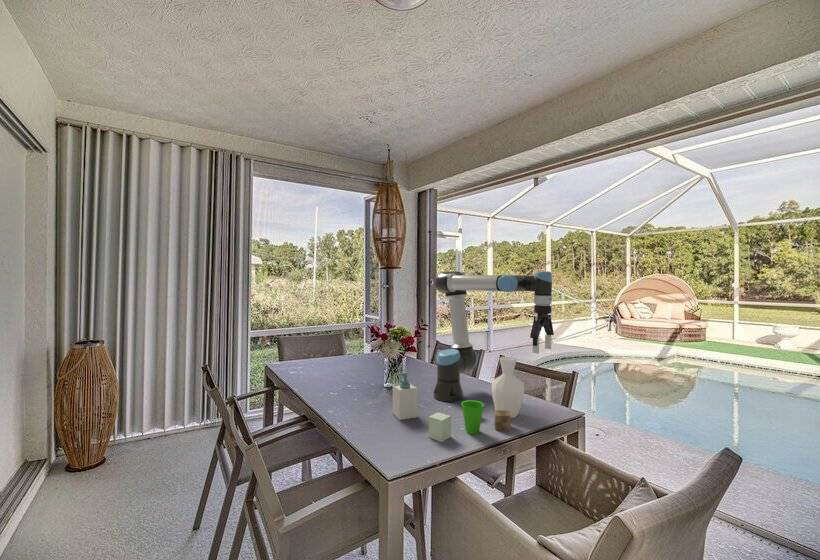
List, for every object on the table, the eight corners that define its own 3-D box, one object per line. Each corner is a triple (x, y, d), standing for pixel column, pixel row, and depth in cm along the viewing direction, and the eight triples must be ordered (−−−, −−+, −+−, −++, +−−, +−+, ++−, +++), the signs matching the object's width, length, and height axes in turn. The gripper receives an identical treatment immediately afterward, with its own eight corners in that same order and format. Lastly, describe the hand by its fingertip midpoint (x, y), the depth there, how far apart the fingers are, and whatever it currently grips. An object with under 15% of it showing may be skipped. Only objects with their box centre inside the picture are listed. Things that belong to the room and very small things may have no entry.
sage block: (428, 437, 140) (428, 416, 140) (438, 432, 144) (438, 412, 144) (441, 442, 136) (441, 420, 136) (450, 436, 140) (450, 415, 140)
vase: (506, 423, 153) (506, 363, 153) (484, 412, 166) (485, 357, 166) (531, 417, 160) (531, 360, 160) (508, 407, 172) (509, 354, 172)
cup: (458, 427, 149) (458, 400, 149) (480, 426, 150) (480, 399, 150) (463, 437, 140) (464, 408, 140) (487, 436, 141) (487, 407, 141)
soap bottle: (392, 413, 164) (392, 371, 164) (410, 410, 168) (410, 369, 168) (399, 420, 156) (399, 375, 156) (417, 417, 160) (417, 373, 160)
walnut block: (495, 430, 147) (495, 415, 146) (494, 424, 152) (494, 410, 152) (510, 431, 145) (510, 416, 145) (509, 425, 151) (509, 411, 151)
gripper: (539, 306, 157) (538, 356, 157) (561, 303, 175) (560, 348, 176) (522, 305, 162) (522, 353, 162) (545, 303, 180) (545, 346, 181)
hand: (542, 350), depth 169 cm, fingers open, 13 cm apart
